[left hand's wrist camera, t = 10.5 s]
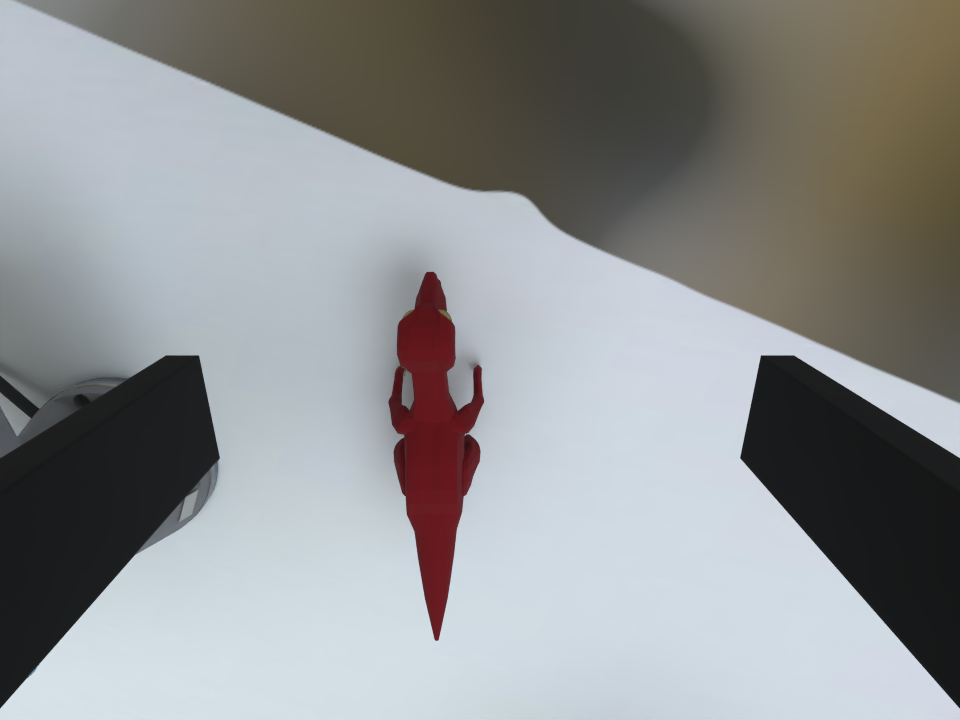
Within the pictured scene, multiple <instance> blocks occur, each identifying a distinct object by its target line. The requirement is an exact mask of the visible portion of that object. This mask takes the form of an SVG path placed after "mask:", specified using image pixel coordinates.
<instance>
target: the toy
mask: <svg viewBox="0 0 960 720" xmlns="http://www.w3.org/2000/svg"><path fill="white" fill-rule="evenodd" d="M397 356H398V359H399V362H400V366H399V367H398V368H397V369H396V372H395V380H394V385H393V392H392V396H391V398H390V399H389V407H390V412H391V420H392V425H393V427H394V428H395V430H396V431H397V433H399V434H404V435H405V437H404V438H402V439H401V440H400V441H399V442H398V443H397V445H396V446H395V449H394V463H395V467H396V471H397V475H398V479H399V483H400V486H401V490H402V493H403V494H404V495H405V496H406V508H407V516H408V518H409V520H410V522H411V525H412V527H413V529H414V531H415V538H416V546H417V553H418V560H419V566H420V572H421V578H422V584H423V589H424V595H425V600H426V605H427V609H428V613H429V617H430V622H431V626H432V630H433V634H434V639H435V641H438V640H439V636H440V631H441V626H442V622H443V617H444V612H445V608H446V603H447V599H448V592H449V585H450V579H451V572H452V565H453V558H454V550H455V541H456V531H457V527H458V523H459V520H460V517H461V514H462V507H463V497H464V496H465V495H466V494H467V492H468V490H469V488H470V486H471V482H472V479H473V475H474V473H475V470H476V468H477V466H478V464H479V462H480V447H479V444H478V442H477V441H476V440H475V439H474V438H473V437H472V436H470V435H469V434H468V435H466V436H465V433H468V432H469V431H470V430H471V429H472V428H473V427H474V425H475V422H476V419H477V417H478V414H479V412H480V409H481V407H482V405H483V403H484V399H483V394H482V381H481V374H482V368H481V367H480V366H479V365H477V366H476V367H475V368H474V372H473V380H474V396H473V399H472V401H471V403H469V404H467V405H465V406H464V407H462V408H461V409H460V410H459V411H457V408H456V405H455V403H454V401H453V399H452V397H451V395H450V394H449V388H448V379H447V371H448V370H450V369H451V368H452V367H453V366H454V363H455V358H456V357H455V326H454V324H453V323H452V319H451V317H450V315H449V313H447V308H446V299H445V295H444V293H443V290H442V287H441V282H440V280H438V278H437V275H436V274H435V273H434V272H427V273H426V274H425V276H424V279H423V281H422V284H421V287H420V290H419V293H418V295H417V298H416V303H415V309H414V310H410V311H408V312H407V313H406V314H405V315H404V317H403V319H402V320H401V321H400V322H399V324H398V332H397ZM402 367H404V368H405V369H406V370H408V371H409V372H410V373H412V380H413V389H414V401H413V404H412V407H411V409H410V411H409V410H408V408H407V407H406V406H403V405H402V383H403V374H404V376H405V373H406V371H405V369H404V368H402ZM464 436H465V437H464Z"/></svg>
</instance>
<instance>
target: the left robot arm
mask: <svg viewBox="0 0 960 720" xmlns="http://www.w3.org/2000/svg"><path fill="white" fill-rule="evenodd" d="M0 392H1V393H2V394H3V395H4V396H5V397H6V398H8V399H9V400H10V401H11V402H12V403H13V404H15V405H16V406H17V407H18V408H19V409H21V410H22V411H23V412H24V413H25V414H27V415H28V416H29V417H30V418H31V420H30V421H29V423H28V424H27V425H26V426H25V428H24V429H23V430H22V432H21V433H20V434H19V435H18V437H17V436H16V434H15V432H14V431H13V429H12V427H11V425H10V423H9V422H8V420H7V418H6V416H5V415H4V413H3V411H2V409H1V408H0V708H1V707H2V706H3V705H4V703H5V702H6V701H7V700H8V699H9V698H10V697H11V696H12V694H13V693H14V692H15V691H16V690H17V689H18V688H19V686H20V685H21V684H22V683H23V682H24V681H25V680H26V678H28V677H29V676H30V675H32V673H33V672H35V670H36V668H37V666H38V665H39V664H40V662H41V661H42V660H43V659H44V658H45V657H46V656H47V654H48V653H49V652H50V651H51V650H52V649H53V648H54V646H55V645H56V644H57V643H58V642H59V641H60V640H61V639H62V637H63V636H64V635H65V634H66V633H67V632H68V631H69V629H70V628H71V627H72V626H73V625H74V624H75V623H76V621H77V620H78V619H79V618H80V617H81V616H82V615H83V613H84V612H85V611H86V610H87V609H88V608H89V607H90V605H91V604H92V603H93V602H94V601H95V600H96V599H97V597H98V596H99V595H100V594H101V593H102V592H103V591H104V590H105V588H106V587H107V586H108V585H109V584H110V583H111V582H112V580H113V579H114V578H115V577H116V576H117V575H118V574H119V572H120V571H121V570H122V569H123V568H124V567H125V566H126V564H127V563H128V562H129V561H130V560H131V559H132V558H133V556H134V555H135V554H137V553H139V552H141V551H142V550H144V549H146V548H148V547H149V546H151V545H153V544H155V543H156V542H158V541H160V540H162V539H163V538H165V537H167V536H169V535H170V534H172V533H174V532H176V531H177V530H179V529H180V528H182V527H183V526H184V525H186V524H187V523H188V522H189V521H191V520H192V519H193V518H194V517H195V516H196V515H197V514H198V512H199V511H200V510H201V509H202V507H203V506H204V505H205V504H206V502H207V501H208V500H209V498H210V496H211V495H212V492H213V490H214V487H215V484H216V479H217V461H218V460H219V458H220V457H219V452H218V447H217V442H216V437H215V432H214V427H213V422H212V418H211V413H210V408H209V403H208V398H207V393H206V388H205V383H204V378H203V373H202V368H201V363H200V358H199V356H165V357H163V358H161V359H160V360H158V361H157V362H155V363H153V364H152V365H150V366H148V367H147V368H145V369H144V370H142V371H140V372H139V373H137V374H136V375H134V376H132V377H131V378H129V379H127V380H126V379H117V378H102V379H94V380H89V381H85V382H82V383H79V384H77V385H74V386H73V387H71V388H69V389H67V390H65V391H63V392H62V393H60V394H58V395H56V396H55V397H53V398H52V399H50V400H49V401H48V402H47V403H46V404H45V405H44V406H42V407H41V408H40V409H39V408H38V407H36V406H35V405H34V404H33V403H32V402H30V401H29V400H28V399H27V398H26V397H24V396H23V395H22V394H21V393H20V392H19V391H17V390H16V389H15V388H14V387H13V386H12V385H10V384H9V383H8V382H7V381H6V380H4V379H3V378H2V377H1V376H0ZM740 458H741V460H742V461H743V462H744V463H745V464H746V465H747V466H748V468H749V469H750V470H751V471H752V472H753V473H754V474H755V476H756V477H757V478H758V479H759V480H760V481H761V482H762V483H763V485H764V486H765V487H766V488H767V489H768V490H769V491H770V493H771V494H772V495H773V496H774V497H775V498H776V499H777V501H778V502H779V503H780V504H781V505H782V506H783V507H784V509H785V510H786V511H787V512H788V513H789V514H790V515H791V517H792V518H793V519H794V520H795V521H796V522H797V523H798V525H799V526H800V527H801V528H802V529H803V530H804V531H805V533H806V534H807V535H808V536H809V537H810V538H811V539H812V540H813V542H814V543H815V544H816V545H817V546H818V547H819V548H820V550H821V551H822V552H823V553H824V554H825V555H826V556H827V558H828V559H829V560H830V561H831V562H832V563H833V564H834V566H835V567H836V568H837V569H838V570H839V571H840V572H841V574H842V575H843V576H844V577H845V578H846V579H847V580H848V582H849V583H850V584H851V585H852V586H853V587H854V588H855V590H856V591H857V592H858V593H859V594H860V595H861V596H862V597H863V599H864V600H865V601H866V602H867V603H868V604H869V605H870V607H871V608H872V609H873V610H874V611H875V612H876V613H877V615H878V616H879V617H880V618H881V619H882V620H883V621H884V623H885V624H886V625H887V626H888V627H889V628H890V629H891V631H892V632H893V633H894V634H895V635H896V636H897V637H898V639H899V640H900V641H901V642H902V643H903V644H904V645H905V646H906V648H907V649H908V650H909V651H910V652H911V653H912V654H913V656H914V657H915V658H916V659H917V660H918V661H919V662H920V664H921V665H922V666H923V667H924V668H925V669H926V670H927V672H928V673H929V674H930V675H931V676H932V677H933V678H934V680H935V681H936V682H937V683H938V684H939V685H940V686H941V688H942V689H943V690H944V691H945V692H946V693H947V694H948V696H949V697H950V698H951V699H952V700H953V701H954V702H955V703H956V705H957V706H958V707H959V708H960V458H959V457H957V456H955V455H954V454H952V453H951V452H949V451H947V450H946V449H944V448H943V447H941V446H939V445H938V444H936V443H934V442H933V441H931V440H930V439H928V438H926V437H925V436H923V435H922V434H920V433H918V432H917V431H915V430H913V429H912V428H910V427H909V426H907V425H905V424H904V423H902V422H900V421H899V420H897V419H896V418H894V417H892V416H891V415H889V414H888V413H886V412H884V411H883V410H881V409H879V408H878V407H876V406H875V405H873V404H871V403H870V402H868V401H867V400H865V399H863V398H862V397H860V396H858V395H857V394H855V393H854V392H852V391H850V390H849V389H847V388H846V387H844V386H842V385H841V384H839V383H837V382H836V381H834V380H833V379H831V378H829V377H828V376H826V375H824V374H823V373H821V372H820V371H818V370H816V369H815V368H813V367H812V366H810V365H808V364H807V363H805V362H803V361H802V360H800V359H799V358H797V357H795V356H761V358H760V363H759V368H758V373H757V378H756V383H755V388H754V393H753V398H752V403H751V408H750V413H749V418H748V422H747V427H746V432H745V437H744V442H743V447H742V452H741V457H740Z"/></svg>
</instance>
